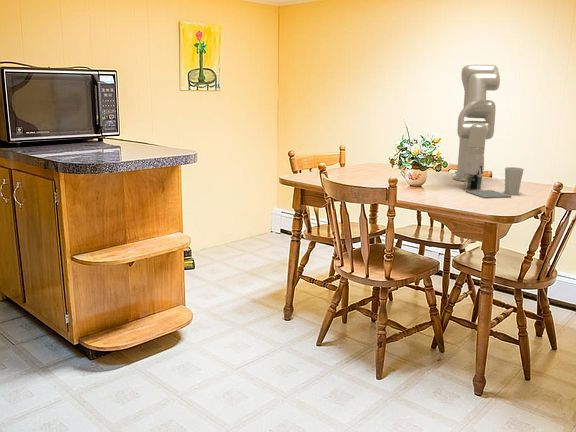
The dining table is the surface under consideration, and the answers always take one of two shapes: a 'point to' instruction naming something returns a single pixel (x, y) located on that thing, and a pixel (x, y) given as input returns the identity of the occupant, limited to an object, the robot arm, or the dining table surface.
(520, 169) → the cup
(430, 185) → the dining table surface
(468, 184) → the tile
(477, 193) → the mat
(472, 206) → the dining table surface
